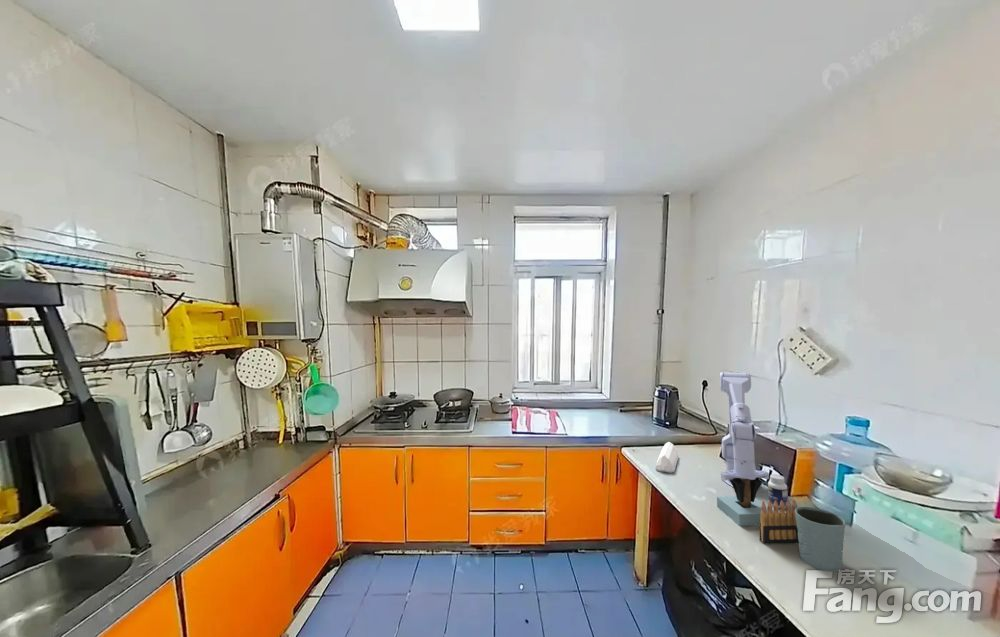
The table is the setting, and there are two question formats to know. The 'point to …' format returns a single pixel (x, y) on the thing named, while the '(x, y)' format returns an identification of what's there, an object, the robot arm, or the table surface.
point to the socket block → (740, 510)
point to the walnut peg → (746, 494)
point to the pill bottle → (777, 490)
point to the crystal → (667, 458)
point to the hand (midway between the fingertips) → (745, 500)
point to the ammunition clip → (778, 524)
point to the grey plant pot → (820, 538)
